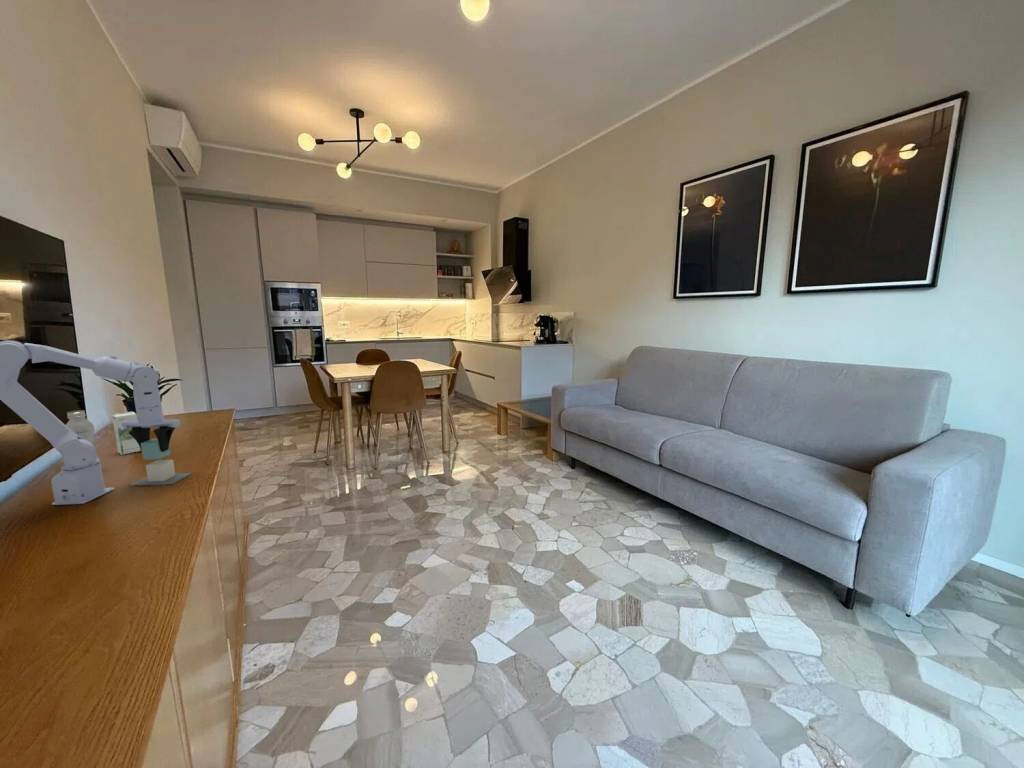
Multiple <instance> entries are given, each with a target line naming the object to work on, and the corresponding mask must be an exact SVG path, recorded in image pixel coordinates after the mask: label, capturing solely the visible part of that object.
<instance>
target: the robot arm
mask: <svg viewBox="0 0 1024 768" xmlns="http://www.w3.org/2000/svg"><path fill="white" fill-rule="evenodd" d="M28 360H31V363H32V364H36V363H37V364H38V363H43V362H44V363H45V362H52V363H53V362H54V363H57V364H62V365H67V366H71V367H78V368H81V369H87V370H91V371H92V372H93V373H94V375H95V376H96V377H101V378H107V379H110V380H115V381H119V382H123V383H127V382H132V387H133V392H132V393H133V400H134V407H135V414H136V415H137V420H136V421H126V422H123V423H122V425H123V429H128V428H132V430H131V431H129V434H130V435H131V436H132V437H133V438H134V439H135V440H136V441H137V443H138V444H139V446H140V448H141V443H143V442H145V441H148V440H151V439H150V436H151V435H150V434H151V428H156V429H153V433H154V434H155V436H156V439H158V441H159V447H160V450H161V452H164V451H166V450H168V449H169V446H170V443H171V442H170V441H171V439H172V435H173V433H174V430H175V429H176V428H177V427H180V426H181V422H180V421H181V420H180V419H173V418H164V412H163V407H162V401H161V395H160V394H161V393H160V390H159V384H158V382H159V380H160V375H159V374H158V372H157V370H155V369H154V368H152V367H150V366H148V365H145V364H140V363H139V362H137V361H133V362H131V361H128V360H123V359H120V358H118V357H117V356H116V355H110V356H107V355H103V356H100V357H98V358H93V357H90V356H85V355H82V354H79V353H75V352H71V351H67V350H63V349H60V348H56V347H53V346H52V347H51V346H48V345H42V344H37V343H36V344H34V343H28V342H24V343H22V342H20V341H17V340H8V339H7V340H6V339H5V340H1V341H0V400H1V402H2V403H4V404H5V405H6V406H7V407H8V408H9V409H11V410H12V411H13V412H14V413H15V414H17V416H19V417H20V418H21V419H23V420H24V421H25V422H26V423H27V424H28V425H29V426H30V427H32V428H33V429H34V430H35V431H36V432H38V433H39V435H41V436H42V437H43V438H45V440H47V441H48V442H49V443H50V444H51V445H52V447H53V448H54V449H55V450H56V451H57V452H58V453H60V456H61V459H62V462H63V464H62V465H61V469H60V471H59V472H58V473H57V474H55V475H54V476H52V477H51V478H52V479H51V482H50V484H51V489H52V490H51V491H52V494H53V499H54V501H53V502H51V505H52V506H54V505H56V506H58V505H59V506H60V505H81V504H86V503H88V502H90V501H92V500H94V499H96V498H99V497H101V496H103V495H105V494H107V493H110V492H111V491H114V490H115V487H106V486H105V481H104V476H103V470H102V465H101V464H100V462H101V460H100V458H99V459H96V457H97V456H98V452H97V450H95V449H96V446H95V447H94V444H95V443H94V444H93V443H92V442H91V441H90V440H88V439H85V438H82V437H80V436H78V435H77V434H76V433H75V432H73V431H72V430H70V429H69V428H68V427H67V426H66V424H65V423H64V422H62V421H61V420H60V419H59V418H58V417H57V416H56V415H55V414H53V412H51V411H50V410H49V409H48V408H47V407H46V406H45V405H43V404H42V403H41V402H40V401H39V400H38V399H37V398H36V397H35V396H33V395H32V394H31V393H30V392H29V391H28V390H27V389H26V388H25V387H23V386H22V385H21V384H20V383H19V382H18V378H19V375H20V372H21V368H23V367H24V366H25V364H26V363H27V362H28ZM141 450H142V448H141Z"/></svg>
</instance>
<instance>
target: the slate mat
mask: <svg viewBox="0 0 1024 768" xmlns="http://www.w3.org/2000/svg"><path fill="white" fill-rule="evenodd" d="M187 476H188V477H189V476H192V472H188V473H187V472H185V473H184V472H183V473H175V476H173V477H171V478H169V479H167V480H165V481H150V482H148V477H147V476H145V477H142V478H140V479H139V480H136V481H134V482H132V483H130V484H128V486H129V487H136V486H135V485H151V486H171V485H170V484H173V485H175V484H177V483H179V482H180V481H182V480H183V478H184V479H186V478H187ZM185 477H186V478H185ZM176 482H177V483H176ZM174 483H175V484H174ZM167 484H169V485H167Z"/></svg>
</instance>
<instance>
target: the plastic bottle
mask: <svg viewBox="0 0 1024 768" xmlns="http://www.w3.org/2000/svg"><path fill="white" fill-rule="evenodd" d="M66 414H67V419H68V421H67V423H66V424H65V425H66V426H67V427H68V428H69V429H70V430H72V431H73V432H75V433H76V434H77V435H78V436H80V437H82V438H85V439H88V440H90V441H91V442H92V443H93V444H94V447H95V450H96V445H95V425H94V423H93V422H91V421H90V420H89V419H87V418H86V417H87V415H86V412H85V410H83V409H82V410H81V409H79V410H72V411H67V412H66ZM96 451H97V450H96ZM96 459H99V460H100V458H99V456H98V455H97V457H96ZM101 463H102V462H101V461H100V464H101Z"/></svg>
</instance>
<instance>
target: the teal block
mask: <svg viewBox="0 0 1024 768" xmlns="http://www.w3.org/2000/svg"><path fill="white" fill-rule="evenodd" d="M170 447H171V446H170V445H169V449H168V450H166V451H164V452H161V450H160V447H159V441H158V439H157V438H151V439H150V440H148V441H145V442H143V443H141V448H142V451H141V453H142V460H146V461H147V460H162V459H163V458H165V457H168V456H169V455H171V454H172V453H171V448H170Z"/></svg>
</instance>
